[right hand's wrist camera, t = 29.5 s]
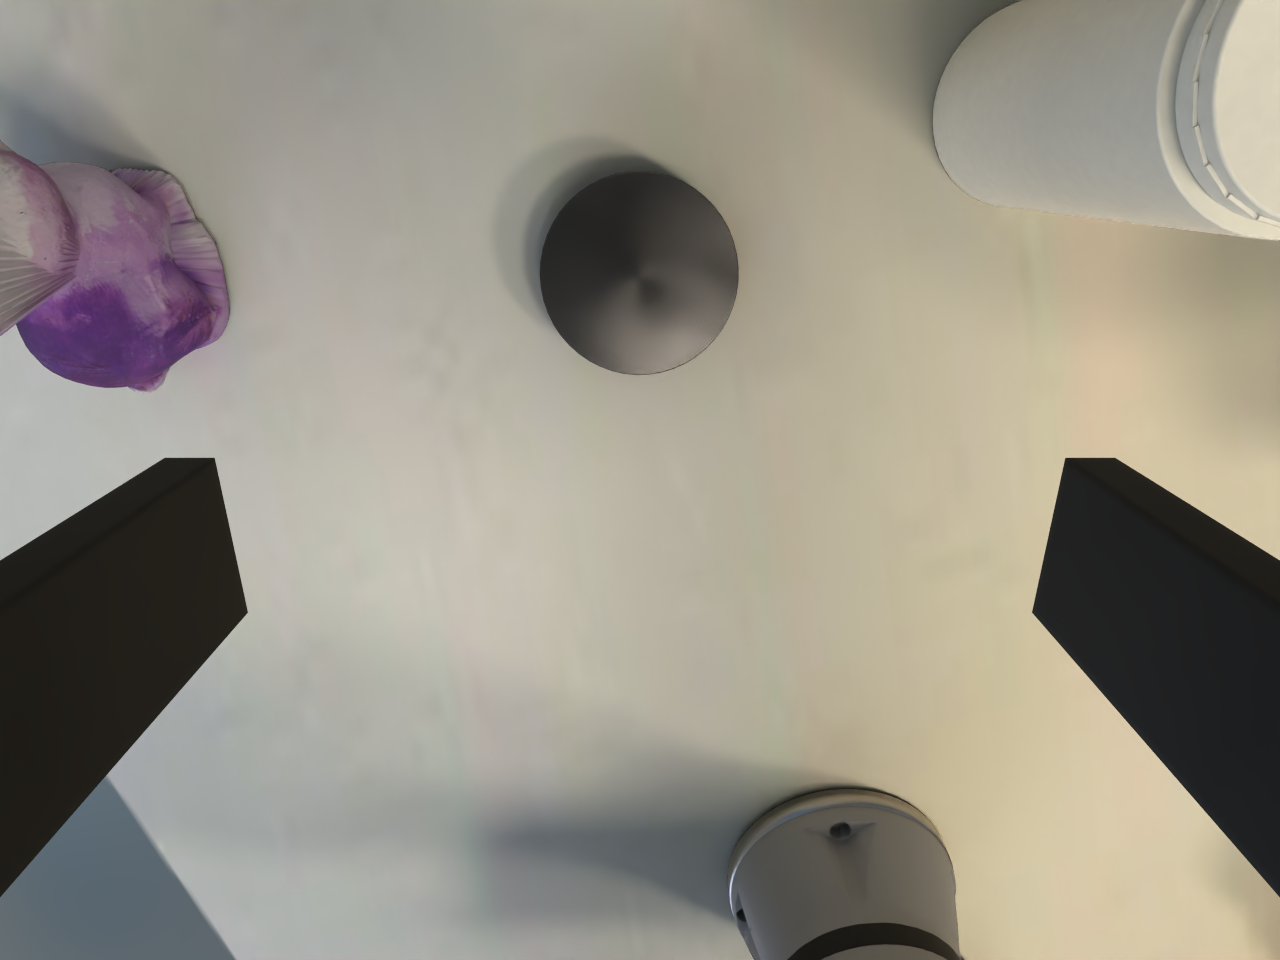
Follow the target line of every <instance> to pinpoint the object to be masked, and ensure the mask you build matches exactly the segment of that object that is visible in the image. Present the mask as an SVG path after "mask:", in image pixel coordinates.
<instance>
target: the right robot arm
mask: <svg viewBox="0 0 1280 960" xmlns="http://www.w3.org/2000/svg"><path fill="white" fill-rule="evenodd" d="M247 613H248V611H247V606H246V602H245V597H244V592H243V588H242V583H241V579H240V574H239V569H238V565H237V560H236V555H235V551H234V546H233V541H232V537H231V532H230V527H229V523H228V518H227V514H226V509H225V504H224V500H223V495H222V490H221V486H220V481H219V476H218V472H217V467H216V463H215V458H164V459H162V460H161V461H159V462H158V463H156V464H154V465H153V466H151V467H150V468H148V469H146V470H145V471H143V472H142V473H140V474H138V475H137V476H135V477H134V478H132V479H130V480H129V481H127V482H126V483H124V484H122V485H121V486H119V487H117V488H116V489H114V490H113V491H111V492H109V493H108V494H106V495H105V496H103V497H101V498H100V499H98V500H97V501H95V502H93V503H92V504H90V505H89V506H87V507H85V508H84V509H82V510H81V511H79V512H77V513H76V514H74V515H73V516H71V517H69V518H68V519H66V520H65V521H63V522H61V523H60V524H58V525H57V526H55V527H53V528H52V529H50V530H49V531H47V532H45V533H44V534H42V535H41V536H39V537H37V538H36V539H34V540H32V541H31V542H29V543H28V544H26V545H24V546H23V547H21V548H20V549H18V550H16V551H15V552H13V553H12V554H10V555H8V556H7V557H5V558H4V559H2V560H0V897H1V896H2V894H3V893H4V892H5V891H6V890H7V889H8V888H9V886H10V885H11V884H12V883H13V882H14V881H15V879H16V878H17V877H18V876H19V875H20V874H21V873H22V871H23V870H24V869H25V868H26V867H27V866H28V864H29V863H30V862H31V861H32V860H33V859H34V858H35V856H36V855H37V854H38V853H39V852H40V851H41V850H42V848H43V847H44V846H45V845H46V844H47V843H48V842H49V840H50V839H51V838H52V837H53V836H54V835H55V833H56V832H57V831H58V830H59V829H60V828H61V827H62V825H63V824H64V823H65V822H66V821H67V820H68V818H69V817H70V816H71V815H72V814H73V813H74V812H75V811H76V809H77V808H78V807H79V806H80V805H81V804H82V802H83V801H84V800H85V799H86V798H87V797H88V796H89V794H90V793H91V792H92V791H93V790H94V789H95V787H96V786H97V785H98V784H99V783H100V782H101V781H102V779H103V778H104V777H105V776H106V775H107V774H108V773H109V771H110V770H111V769H112V768H113V767H114V766H115V765H116V763H117V762H118V761H119V760H120V759H121V758H122V757H123V755H124V754H125V753H126V752H127V751H128V750H129V748H130V747H131V746H132V745H133V744H134V743H135V742H136V740H137V739H138V738H139V737H140V736H141V735H142V734H143V732H144V731H145V730H146V729H147V728H148V727H149V725H150V724H151V723H152V722H153V721H154V720H155V719H156V717H157V716H158V715H159V714H160V713H161V712H162V711H163V709H164V708H165V707H166V706H167V705H168V704H169V702H170V701H171V700H172V699H173V698H174V697H175V696H176V694H177V693H178V692H179V691H180V690H181V689H182V688H183V686H184V685H185V684H186V683H187V682H188V681H189V679H190V678H191V677H192V676H193V675H194V674H195V673H196V671H197V670H198V669H199V668H200V667H201V666H202V665H203V663H204V662H205V661H206V660H207V659H208V658H209V656H210V655H211V654H212V653H213V652H214V651H215V650H216V648H217V647H218V646H219V645H220V644H221V643H222V642H223V640H224V639H225V638H226V637H227V636H228V635H229V634H230V632H231V631H232V630H233V629H234V628H235V627H236V625H237V624H238V623H239V622H240V621H241V620H242V619H243V617H244V616H245V615H246V614H247ZM1032 613H1033V614H1034V615H1035V616H1036V617H1037V619H1038V620H1039V621H1040V622H1041V623H1042V624H1043V625H1044V627H1045V628H1046V629H1047V630H1048V631H1049V632H1050V634H1051V635H1052V636H1053V637H1054V638H1055V639H1056V640H1057V642H1058V643H1059V644H1060V645H1061V646H1062V647H1063V648H1064V650H1065V651H1066V652H1067V653H1068V654H1069V655H1070V656H1071V658H1072V659H1073V660H1074V661H1075V662H1076V663H1077V665H1078V666H1079V667H1080V668H1081V669H1082V670H1083V671H1084V673H1085V674H1086V675H1087V676H1088V677H1089V678H1090V679H1091V681H1092V682H1093V683H1094V684H1095V685H1096V686H1097V688H1098V689H1099V690H1100V691H1101V692H1102V693H1103V694H1104V696H1105V697H1106V698H1107V699H1108V700H1109V701H1110V702H1111V704H1112V705H1113V706H1114V707H1115V708H1116V709H1117V711H1118V712H1119V713H1120V714H1121V715H1122V716H1123V717H1124V719H1125V720H1126V721H1127V722H1128V723H1129V724H1130V725H1131V727H1132V728H1133V729H1134V730H1135V731H1136V732H1137V734H1138V735H1139V736H1140V737H1141V738H1142V739H1143V740H1144V742H1145V743H1146V744H1147V745H1148V746H1149V747H1150V748H1151V750H1152V751H1153V752H1154V753H1155V754H1156V755H1157V757H1158V758H1159V759H1160V760H1161V761H1162V762H1163V763H1164V765H1165V766H1166V767H1167V768H1168V769H1169V770H1170V771H1171V773H1172V774H1173V775H1174V776H1175V777H1176V778H1177V779H1178V781H1179V782H1180V783H1181V784H1182V785H1183V786H1184V788H1185V789H1186V790H1187V791H1188V792H1189V793H1190V794H1191V796H1192V797H1193V798H1194V799H1195V800H1196V801H1197V802H1198V804H1199V805H1200V806H1201V807H1202V808H1203V809H1204V811H1205V812H1206V813H1207V814H1208V815H1209V816H1210V817H1211V819H1212V820H1213V821H1214V822H1215V823H1216V824H1217V825H1218V827H1219V828H1220V829H1221V830H1222V831H1223V832H1224V834H1225V835H1226V836H1227V837H1228V838H1229V839H1230V840H1231V842H1232V843H1233V844H1234V845H1235V846H1236V847H1237V848H1238V850H1239V851H1240V852H1241V853H1242V854H1243V855H1244V857H1245V858H1246V859H1247V860H1248V861H1249V862H1250V863H1251V865H1252V866H1253V867H1254V868H1255V869H1256V870H1257V871H1258V873H1259V874H1260V875H1261V876H1262V877H1263V878H1264V879H1265V881H1266V882H1267V883H1268V884H1269V885H1270V886H1271V888H1272V889H1273V890H1274V891H1275V892H1276V893H1277V894H1278V896H1279V897H1280V560H1278V559H1276V558H1275V557H1273V556H1272V555H1270V554H1268V553H1267V552H1265V551H1264V550H1262V549H1260V548H1259V547H1257V546H1256V545H1254V544H1252V543H1251V542H1249V541H1248V540H1246V539H1244V538H1243V537H1241V536H1239V535H1238V534H1236V533H1235V532H1233V531H1231V530H1230V529H1228V528H1227V527H1225V526H1223V525H1222V524H1220V523H1219V522H1217V521H1215V520H1214V519H1212V518H1211V517H1209V516H1207V515H1206V514H1204V513H1203V512H1201V511H1199V510H1198V509H1196V508H1195V507H1193V506H1191V505H1190V504H1188V503H1187V502H1185V501H1183V500H1182V499H1180V498H1179V497H1177V496H1175V495H1174V494H1172V493H1171V492H1169V491H1167V490H1166V489H1164V488H1163V487H1161V486H1159V485H1158V484H1156V483H1154V482H1153V481H1151V480H1150V479H1148V478H1146V477H1145V476H1143V475H1142V474H1140V473H1138V472H1137V471H1135V470H1134V469H1132V468H1130V467H1129V466H1127V465H1126V464H1124V463H1122V462H1121V461H1119V460H1118V459H1116V458H1065V463H1064V467H1063V472H1062V476H1061V481H1060V486H1059V490H1058V495H1057V500H1056V504H1055V509H1054V514H1053V518H1052V523H1051V527H1050V532H1049V537H1048V541H1047V546H1046V551H1045V555H1044V560H1043V565H1042V569H1041V574H1040V579H1039V583H1038V588H1037V592H1036V597H1035V602H1034V606H1033V611H1032ZM728 888H729V896H730V904H731V909H732V912H733V915H734V918H735V921H736V924H737V926H738V929H739V931H740V933H741V935H742V936H743V938H744V940H745V942H746V945H747V947H748V949H749V951H750V953H751V954H752V956H753V958H754V960H963V959H962V958H961V957H960V952H959V938H958V924H957V913H956V903H955V893H956V883H955V876H954V871H953V866H952V862H951V860H950V857H949V854H948V852H947V850H946V848H945V845H944V843H943V841H942V839H941V837H940V835H939V833H938V831H937V830H936V828H935V827H934V825H933V824H932V823H931V822H930V821H929V819H928V818H927V817H925V816H924V815H923V814H922V813H921V812H920V811H918V810H917V809H916V808H914V807H913V806H911V805H909V804H907V803H906V802H904V801H902V800H899V799H897V798H895V797H892V796H889V795H886V794H882V793H878V792H873V791H867V790H858V789H836V790H827V791H820V792H816V793H811V794H807V795H804V796H801V797H798V798H795V799H792V800H790V801H787V802H785V803H783V804H781V805H779V806H777V807H776V808H774V809H772V810H771V811H769V812H768V813H766V814H765V815H763V816H762V817H761V818H759V819H758V820H757V821H756V822H755V823H754V824H753V825H752V826H751V827H750V828H749V829H748V830H747V831H746V832H745V833H744V835H743V836H742V837H741V839H740V840H739V842H738V843H737V845H736V847H735V849H734V851H733V853H732V856H731V859H730V862H729V867H728Z"/></svg>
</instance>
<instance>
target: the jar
mask: <svg viewBox="0 0 1280 960" xmlns="http://www.w3.org/2000/svg"><path fill="white" fill-rule="evenodd" d="M933 135H934V141H935V146H936V149H937V152H938V156H939V159H940V161H941V163H942V165H943V167H944V169H945V170H946V172H947V173H948V175H949V176H950V178H951V179H952V180H953V181H954V182H955V184H956V185H957V186H958V187H959V188H960V189H962V190H963V191H964V192H965V193H967V194H968V195H970V196H971V197H973V198H975V199H977V200H979V201H981V202H984V203H987V204H990V205H994V206H999V207H1006V208H1014V209H1022V210H1030V211H1038V212H1046V213H1054V214H1062V215H1070V216H1078V217H1086V218H1094V219H1102V220H1110V221H1118V222H1126V223H1134V224H1142V225H1150V226H1158V227H1166V228H1174V229H1182V230H1190V231H1198V232H1206V233H1214V234H1222V235H1230V236H1238V237H1246V238H1254V239H1265V240H1280V0H1021V1H1019V2H1017V3H1014V4H1012V5H1010V6H1007V7H1005V8H1003V9H1002V10H1000V11H998V12H996V13H994V14H993V15H991V16H990V17H988V18H987V19H985V20H984V21H983V22H981V23H980V24H979V25H978V26H977V27H976V28H975V29H973V30H972V31H971V32H970V34H969V35H968V36H967V37H966V38H965V39H964V40H963V41H962V43H961V44H960V45H959V47H958V48H957V49H956V51H955V52H954V54H953V55H952V57H951V59H950V60H949V62H948V64H947V66H946V68H945V70H944V72H943V75H942V77H941V79H940V83H939V86H938V89H937V92H936V97H935V102H934V108H933Z"/></svg>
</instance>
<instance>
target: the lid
mask: <svg viewBox="0 0 1280 960" xmlns="http://www.w3.org/2000/svg"><path fill="white" fill-rule="evenodd" d="M540 281H541V290H542V295H543V300H544V303H545V306H546V309H547V312H548V314H549V316H550V318H551V320H552V322H553V324H554V326H555V327H556V329H557V330H558V332H559V333H560V335H561V336H562V337H563V339H564V340H565V341H566V342H567V343H568V344H569V345H570V346H571V347H572V348H573V349H574V350H575V351H576V352H577V353H578V354H580V355H581V356H583V357H584V358H586V359H587V360H589V361H590V362H592V363H594V364H596V365H598V366H600V367H603V368H605V369H608V370H611V371H614V372H619V373H623V374H633V375H646V374H654V373H660V372H664V371H667V370H671V369H674V368H676V367H678V366H680V365H683V364H685V363H687V362H688V361H690V360H691V359H693V358H695V357H696V356H697V355H699V354H700V353H701V352H702V351H704V350H705V349H706V348H707V347H708V346H709V345H710V344H711V343H712V342H713V341H714V340H715V338H716V337H717V336H718V334H719V333H720V332H721V330H722V329H723V327H724V325H725V323H726V321H727V320H728V318H729V315H730V313H731V310H732V308H733V305H734V301H735V298H736V294H737V287H738V260H737V253H736V249H735V245H734V241H733V238H732V236H731V233H730V231H729V228H728V227H727V225H726V223H725V221H724V220H723V218H722V216H721V215H720V213H719V212H718V211H717V209H716V208H715V207H714V206H713V205H712V204H711V203H710V202H709V201H708V199H707V198H706V197H705V196H703V195H702V194H701V193H699V192H698V191H697V190H696V189H694V188H693V187H691V186H689V185H688V184H686V183H684V182H682V181H680V180H678V179H675V178H673V177H670V176H668V175H664V174H660V173H656V172H647V171H630V172H624V173H618V174H614V175H611V176H608V177H605V178H603V179H601V180H599V181H597V182H595V183H593V184H591V185H589V186H587V187H586V188H585V189H583V190H582V191H580V192H579V193H578V194H576V195H575V196H574V197H573V198H572V199H571V200H570V201H569V202H568V203H567V204H566V205H565V206H564V208H563V209H562V210H561V211H560V213H559V214H558V216H557V217H556V219H555V220H554V222H553V224H552V226H551V228H550V230H549V232H548V234H547V237H546V240H545V243H544V247H543V251H542V256H541V264H540Z"/></svg>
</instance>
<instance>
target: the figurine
mask: <svg viewBox="0 0 1280 960" xmlns="http://www.w3.org/2000/svg"><path fill="white" fill-rule="evenodd" d="M229 312H230V307H229V299H228V294H227V288H226V282H225V276H224V271H223V265H222V262H221V259H220V256H219V253H218V250H217V247H216V242H215V241H214V240H213V239H212V237H211V236H210V235H209V233H208V232H207V231H206V229H205V228H204V226H203V225H202V224H201V222H199V221H198V220H197V219H196V218H195V216H194V212H193V211H192V209H191V208H190V206H189V203H188V200H187V198H186V196H185V193H184V191H183V189H182V188H181V186H180V185H179V183H178V182H177V181H176V179H175V178H174V177H173V176H171V175H169V174H165V173H164V172H163V171H156V170H152V171H148V170H145V171H143V170H142V169H140V170H137V169H134V170H132V169H131V168H129V169H126V168H123V169H120V168H118V169H116V170H115V171H113V170H110V171H107V170H105V169H103V168H100V167H97V166H94V165H90V164H85V163H77V162H55V163H48V164H43V165H36V164H34V163H33V162H31V161H29V160H27V159H25V158H24V157H22V156H20V155H18V154H16V153H15V152H14V151H12V150H11V149H10V148H9V147H7V146H6V145H5V144H4V143H3V142H2V141H1V140H0V336H1V335H2V334H4V333H5V332H6V331H7V330H9V329H10V328H11V327H13V326H14V325H15V324H16V325H17V328H18V330H19V333H20V335H21V337H22V339H23V341H24V343H25V345H26V347H27V348H28V349H29V351H30V352H31V353H32V354H33V355H34V356H35V357H36V358H37V360H38V361H39V362H40V363H41V364H42V365H43V366H44V367H46V368H47V369H49V370H50V371H52V372H53V373H55V374H57V375H59V376H61V377H64V378H66V379H69V380H72V381H74V382H78V383H82V384H86V385H90V386H96V387H104V388H116V387H127V386H128V387H129V388H130V389H132V390H133V391H136V392H140V393H148V392H152V391H154V390H156V389H158V388H159V387H160V386H161V385H162V384H163V382H164V380H165V377H166V374H167V372H168V370H169V368H170V366H172V365H173V364H174V363H175V362H177V361H178V360H179V359H181V358H182V357H184V356H185V355H187V354H188V353H190V352H191V351H193V350H195V349H198V348H201V347H204V346H206V345H209V344H211V343H213V342H214V341H216V340H218V339H219V337H220V336H221V335H222V333H223V332H224V330H225V328H226V325H227V323H228V320H229Z"/></svg>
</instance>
